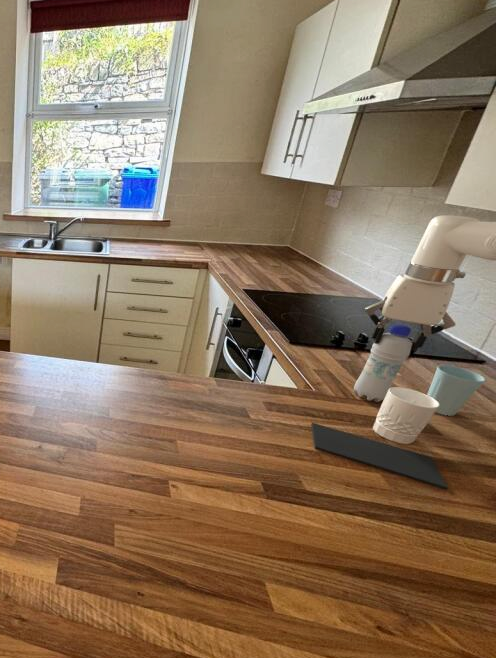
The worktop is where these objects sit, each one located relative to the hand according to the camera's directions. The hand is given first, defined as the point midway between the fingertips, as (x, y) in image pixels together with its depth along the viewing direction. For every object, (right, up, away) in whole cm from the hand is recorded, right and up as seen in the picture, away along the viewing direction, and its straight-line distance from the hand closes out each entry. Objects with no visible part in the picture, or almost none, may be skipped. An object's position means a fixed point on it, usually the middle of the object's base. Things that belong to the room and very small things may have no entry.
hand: (393, 344), depth 97 cm
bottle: (0, -14, +6) cm, 15 cm away
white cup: (-8, -20, -7) cm, 23 cm away
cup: (+13, -16, +2) cm, 21 cm away
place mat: (-18, -23, -13) cm, 32 cm away
